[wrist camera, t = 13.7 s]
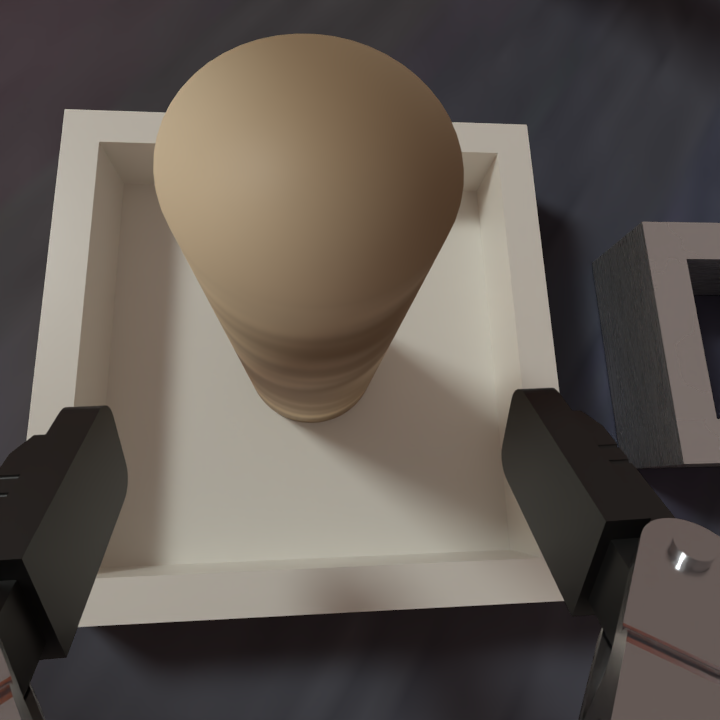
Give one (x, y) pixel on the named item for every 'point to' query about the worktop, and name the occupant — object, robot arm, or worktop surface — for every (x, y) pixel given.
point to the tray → (285, 436)
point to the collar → (660, 342)
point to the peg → (308, 207)
